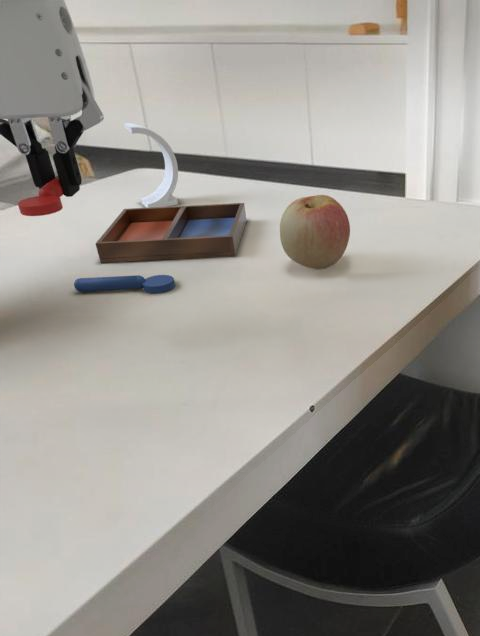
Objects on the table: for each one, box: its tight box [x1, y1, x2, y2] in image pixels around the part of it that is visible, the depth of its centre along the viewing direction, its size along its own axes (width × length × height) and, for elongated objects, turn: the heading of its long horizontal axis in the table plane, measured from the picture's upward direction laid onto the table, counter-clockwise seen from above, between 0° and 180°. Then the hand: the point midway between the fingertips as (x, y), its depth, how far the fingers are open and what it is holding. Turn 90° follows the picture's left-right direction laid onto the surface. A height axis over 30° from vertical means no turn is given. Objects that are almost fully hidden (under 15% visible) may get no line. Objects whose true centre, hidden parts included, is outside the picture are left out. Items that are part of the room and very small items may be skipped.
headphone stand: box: [123, 122, 180, 208], centre depth 110 cm, size 5×6×12 cm
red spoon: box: [17, 175, 64, 217], centre depth 68 cm, size 4×12×2 cm, turn 2°
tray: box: [95, 202, 247, 264], centre depth 97 cm, size 18×16×3 cm
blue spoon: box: [73, 274, 176, 294], centre depth 83 cm, size 4×12×2 cm, turn 92°
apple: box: [279, 194, 351, 270], centre depth 85 cm, size 9×9×8 cm
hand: (61, 192), depth 70 cm, fingers closed on red spoon, 1 cm apart
